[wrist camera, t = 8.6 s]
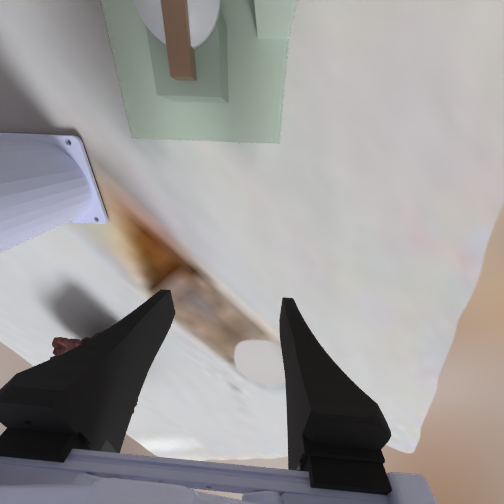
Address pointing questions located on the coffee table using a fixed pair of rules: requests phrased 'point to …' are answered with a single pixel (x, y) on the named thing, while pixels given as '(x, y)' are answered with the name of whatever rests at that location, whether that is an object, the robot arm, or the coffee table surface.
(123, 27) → the mint green baseplate
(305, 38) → the coffee table surface
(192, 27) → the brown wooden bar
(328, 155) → the coffee table surface
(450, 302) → the coffee table surface
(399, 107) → the coffee table surface
